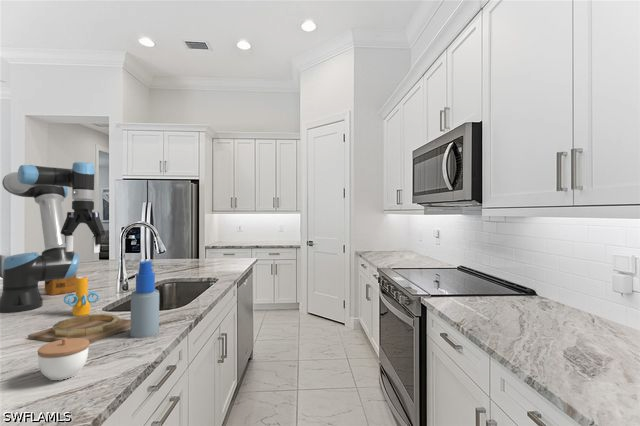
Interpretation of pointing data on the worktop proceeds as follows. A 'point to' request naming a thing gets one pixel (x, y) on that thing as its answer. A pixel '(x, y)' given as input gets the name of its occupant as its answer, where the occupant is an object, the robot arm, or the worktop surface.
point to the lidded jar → (63, 358)
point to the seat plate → (49, 335)
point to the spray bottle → (145, 304)
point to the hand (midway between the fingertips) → (82, 252)
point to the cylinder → (81, 297)
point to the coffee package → (60, 285)
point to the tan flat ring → (88, 331)
